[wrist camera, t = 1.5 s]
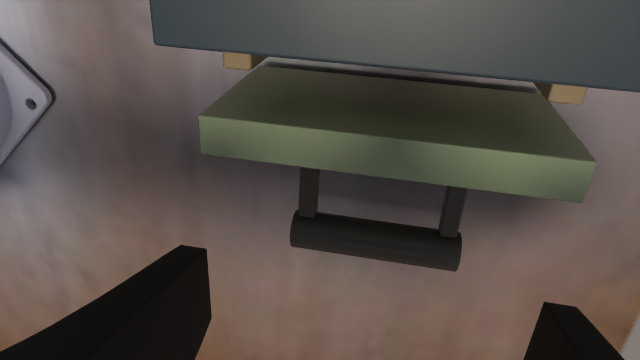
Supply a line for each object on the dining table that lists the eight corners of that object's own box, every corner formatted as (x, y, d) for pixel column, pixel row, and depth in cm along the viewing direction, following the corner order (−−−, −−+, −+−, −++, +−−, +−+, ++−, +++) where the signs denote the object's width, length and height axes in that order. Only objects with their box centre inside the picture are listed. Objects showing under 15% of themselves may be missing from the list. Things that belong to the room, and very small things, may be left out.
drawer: (504, 232, 19) (534, 337, 14) (260, 198, 21) (209, 282, 16) (670, -360, 11) (873, -597, 6) (255, -350, 13) (150, -539, 8)
